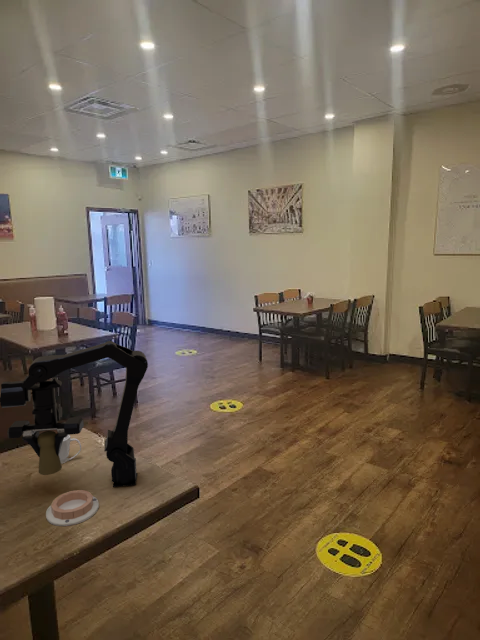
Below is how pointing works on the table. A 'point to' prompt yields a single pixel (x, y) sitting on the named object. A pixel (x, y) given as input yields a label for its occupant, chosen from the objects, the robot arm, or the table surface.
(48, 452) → the brown peg
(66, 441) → the cup
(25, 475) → the table surface
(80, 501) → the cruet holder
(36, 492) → the table surface
